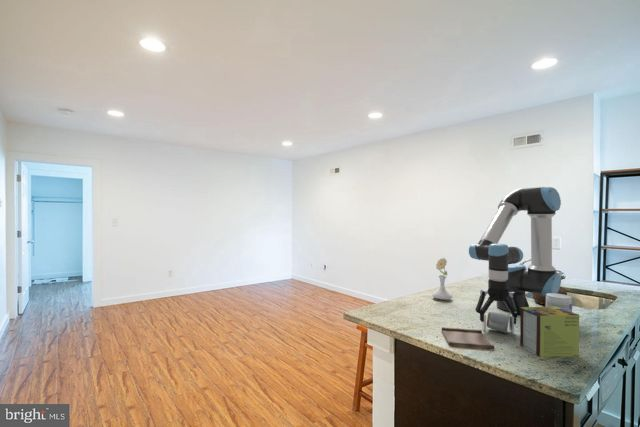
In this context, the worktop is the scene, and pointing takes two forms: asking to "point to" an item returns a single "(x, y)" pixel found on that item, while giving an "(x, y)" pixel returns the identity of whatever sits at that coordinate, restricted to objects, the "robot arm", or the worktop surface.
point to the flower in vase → (442, 282)
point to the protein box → (549, 331)
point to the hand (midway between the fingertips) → (497, 329)
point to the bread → (542, 299)
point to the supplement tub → (559, 301)
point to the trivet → (466, 338)
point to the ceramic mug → (498, 321)
